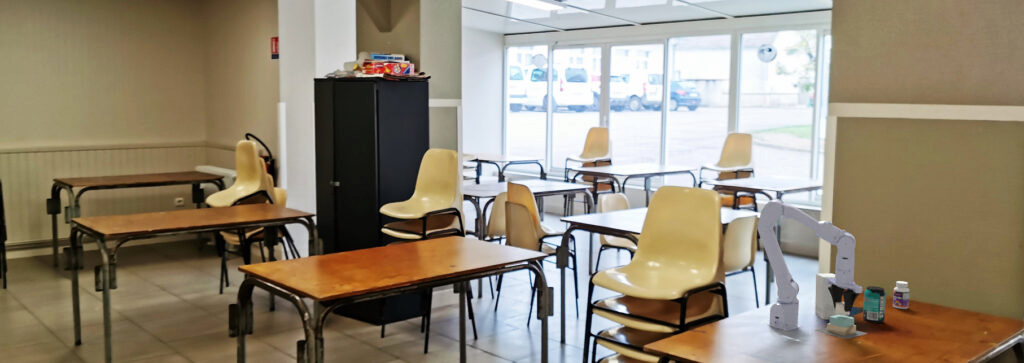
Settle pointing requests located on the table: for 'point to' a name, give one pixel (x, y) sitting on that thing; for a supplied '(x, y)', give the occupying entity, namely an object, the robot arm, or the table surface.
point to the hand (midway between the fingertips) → (842, 309)
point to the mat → (858, 333)
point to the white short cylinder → (841, 309)
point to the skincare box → (824, 297)
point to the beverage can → (874, 304)
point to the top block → (841, 321)
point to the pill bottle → (901, 295)
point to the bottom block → (841, 329)
